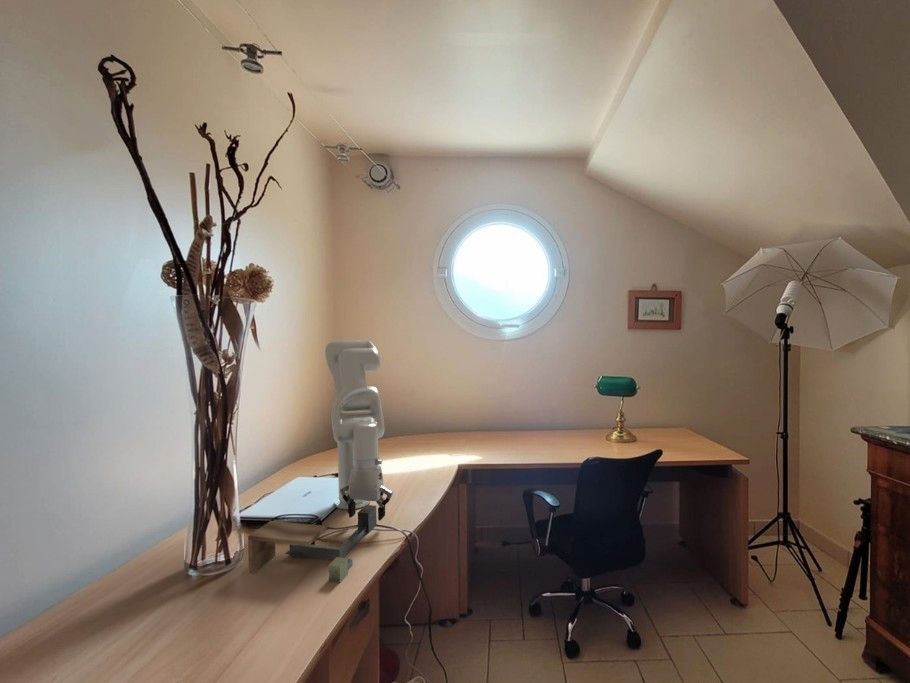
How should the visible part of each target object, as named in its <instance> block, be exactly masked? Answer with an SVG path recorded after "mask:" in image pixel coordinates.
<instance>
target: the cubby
mask: <svg viewBox="0 0 910 683" xmlns="http://www.w3.org/2000/svg"><path fill="white" fill-rule="evenodd" d="M327 530H328V525H320V524H309V523H298V522H289V521H277V520H270V521H269V522H267V523H265V524H264V525H262V526H261V527H259V528H258V529H256V530H255V531H253V532H251V533H250V534H248V535H247V546H248V548H247V549H248V550H247V551H248V574H255V573H256V572H257V571H258V570H259V569H261V568H262V567H264V566H265V565H266V564H267V563H268V562H270V561H271V560H273V559H274V557H276V544H278V543H279V544H287V545H290V544H295V545H305V546H309V545H310V544H311V543H312V542H314V541H315V542H316V540H317V539H318V538H319V537H321V536H322V535H324V533H325V532H326V531H327Z"/></svg>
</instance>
